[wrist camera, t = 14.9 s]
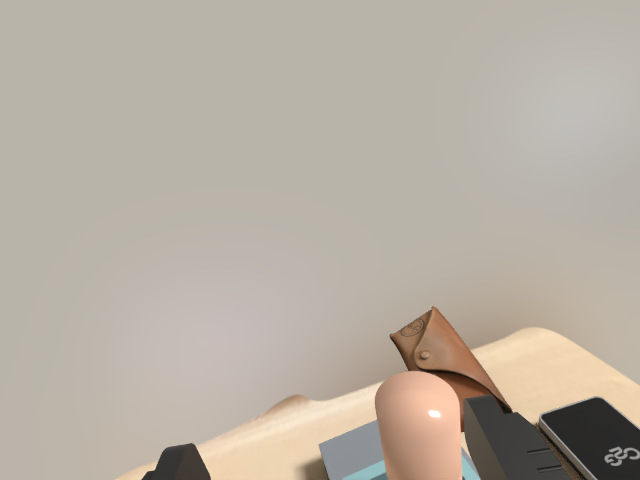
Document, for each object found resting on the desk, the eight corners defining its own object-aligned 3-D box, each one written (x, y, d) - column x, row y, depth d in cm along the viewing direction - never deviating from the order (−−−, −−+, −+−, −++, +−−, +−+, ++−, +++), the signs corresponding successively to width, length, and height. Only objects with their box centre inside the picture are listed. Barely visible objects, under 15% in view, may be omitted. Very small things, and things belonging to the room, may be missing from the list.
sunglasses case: (384, 333, 52) (402, 295, 50) (425, 342, 53) (445, 306, 51) (435, 443, 35) (465, 394, 33) (492, 452, 37) (525, 405, 34)
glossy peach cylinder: (417, 583, 23) (399, 453, 19) (383, 507, 28) (362, 387, 23) (480, 549, 24) (478, 418, 20) (438, 482, 29) (428, 361, 24)
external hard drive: (597, 408, 35) (599, 394, 35) (735, 531, 25) (743, 514, 24) (535, 429, 35) (536, 415, 34) (651, 562, 25) (656, 547, 24)
